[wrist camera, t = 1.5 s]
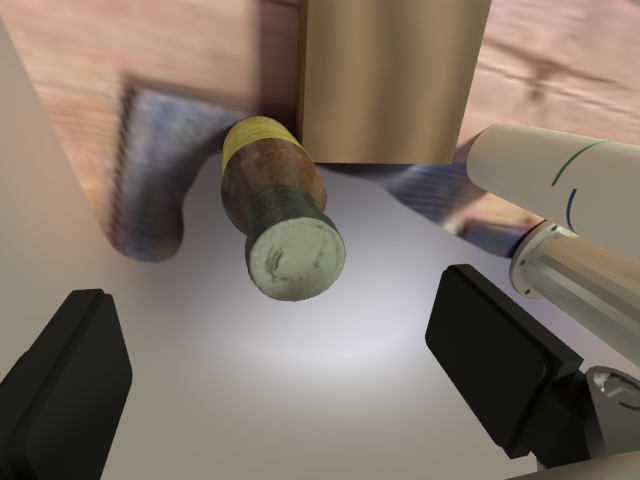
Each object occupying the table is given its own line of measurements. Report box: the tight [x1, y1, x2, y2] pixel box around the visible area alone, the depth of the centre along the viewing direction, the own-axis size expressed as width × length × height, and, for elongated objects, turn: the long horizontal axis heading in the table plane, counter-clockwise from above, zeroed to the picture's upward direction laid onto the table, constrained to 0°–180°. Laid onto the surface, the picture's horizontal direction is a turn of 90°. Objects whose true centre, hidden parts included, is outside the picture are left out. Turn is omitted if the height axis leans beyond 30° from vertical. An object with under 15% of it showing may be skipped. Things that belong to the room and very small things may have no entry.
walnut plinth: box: [295, 0, 492, 165], centre depth 27 cm, size 14×14×4 cm
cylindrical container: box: [466, 122, 640, 265], centre depth 25 cm, size 7×7×25 cm
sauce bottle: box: [221, 116, 346, 301], centre depth 21 cm, size 7×6×20 cm
